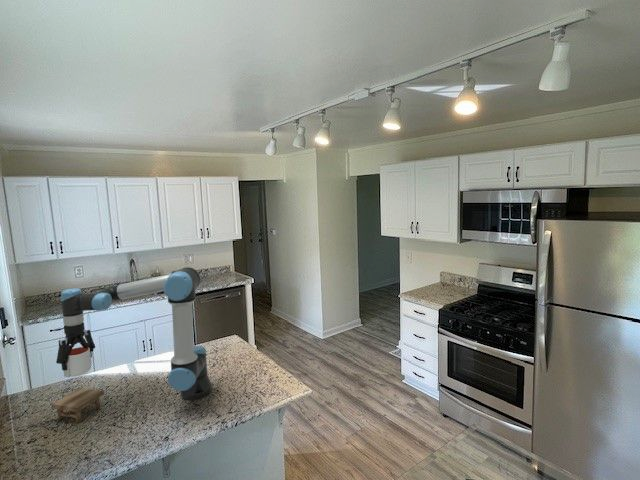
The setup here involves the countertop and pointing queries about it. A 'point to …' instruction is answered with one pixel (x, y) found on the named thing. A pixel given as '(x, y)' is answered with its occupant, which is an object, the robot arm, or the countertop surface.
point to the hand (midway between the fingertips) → (78, 370)
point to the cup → (79, 361)
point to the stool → (77, 402)
